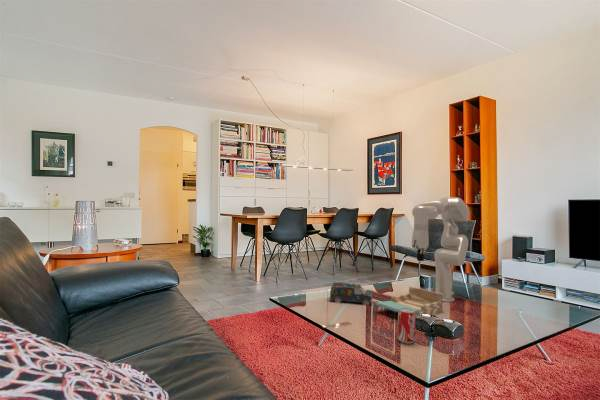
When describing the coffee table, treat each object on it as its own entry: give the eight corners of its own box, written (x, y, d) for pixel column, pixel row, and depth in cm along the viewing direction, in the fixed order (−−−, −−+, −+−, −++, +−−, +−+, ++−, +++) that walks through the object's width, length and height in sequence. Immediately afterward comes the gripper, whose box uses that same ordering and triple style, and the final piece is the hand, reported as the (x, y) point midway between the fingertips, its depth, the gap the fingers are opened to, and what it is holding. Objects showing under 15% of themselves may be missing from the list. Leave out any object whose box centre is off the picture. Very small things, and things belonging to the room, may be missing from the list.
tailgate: (389, 300, 183) (375, 302, 176) (420, 309, 168) (406, 311, 161) (389, 304, 183) (375, 306, 176) (419, 313, 168) (405, 316, 161)
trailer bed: (410, 303, 196) (410, 286, 196) (442, 312, 180) (442, 293, 180) (389, 308, 184) (389, 290, 184) (421, 318, 168) (421, 299, 168)
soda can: (394, 337, 142) (395, 307, 142) (410, 337, 143) (411, 307, 143) (401, 344, 135) (401, 312, 135) (418, 344, 136) (418, 312, 136)
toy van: (372, 306, 188) (372, 288, 189) (329, 302, 194) (329, 285, 194) (372, 301, 199) (372, 284, 199) (331, 297, 204) (331, 281, 204)
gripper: (422, 227, 193) (422, 258, 192) (407, 227, 184) (406, 260, 183) (434, 228, 187) (433, 260, 186) (419, 228, 178) (418, 262, 177)
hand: (420, 260), depth 185 cm, fingers closed
